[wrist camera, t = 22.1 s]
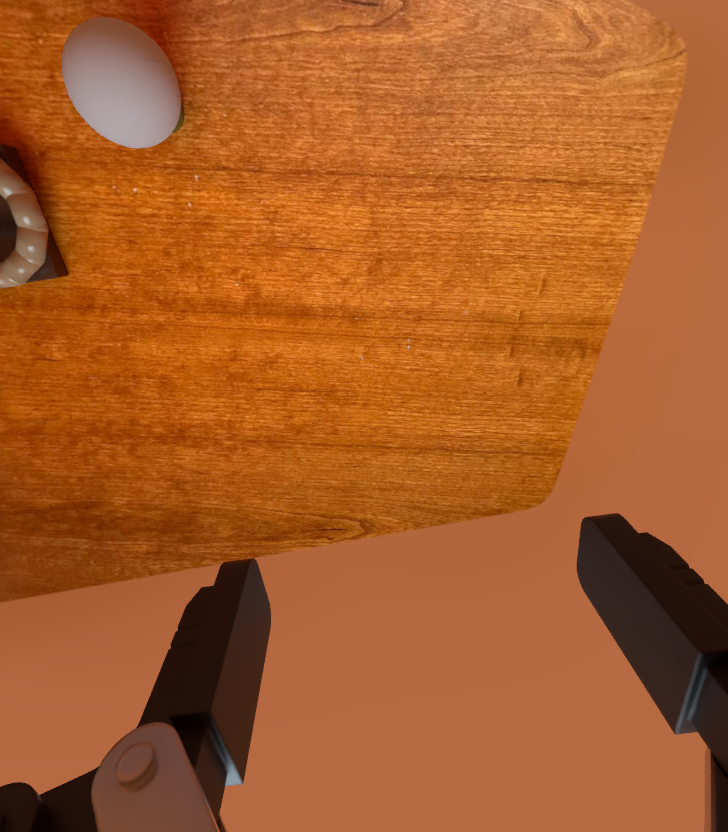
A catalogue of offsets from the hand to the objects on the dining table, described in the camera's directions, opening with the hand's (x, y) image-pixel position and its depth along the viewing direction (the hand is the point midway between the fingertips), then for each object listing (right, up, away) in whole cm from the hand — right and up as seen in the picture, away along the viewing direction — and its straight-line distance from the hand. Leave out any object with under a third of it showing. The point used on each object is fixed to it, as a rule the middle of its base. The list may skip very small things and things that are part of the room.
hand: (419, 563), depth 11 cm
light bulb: (-15, +25, +20) cm, 36 cm away
